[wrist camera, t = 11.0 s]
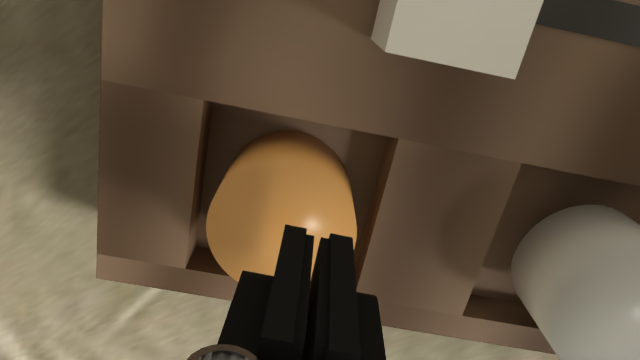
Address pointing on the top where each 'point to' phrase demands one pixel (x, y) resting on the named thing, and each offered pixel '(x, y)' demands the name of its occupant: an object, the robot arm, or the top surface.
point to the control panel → (365, 145)
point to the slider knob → (459, 32)
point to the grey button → (583, 282)
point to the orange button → (278, 201)
